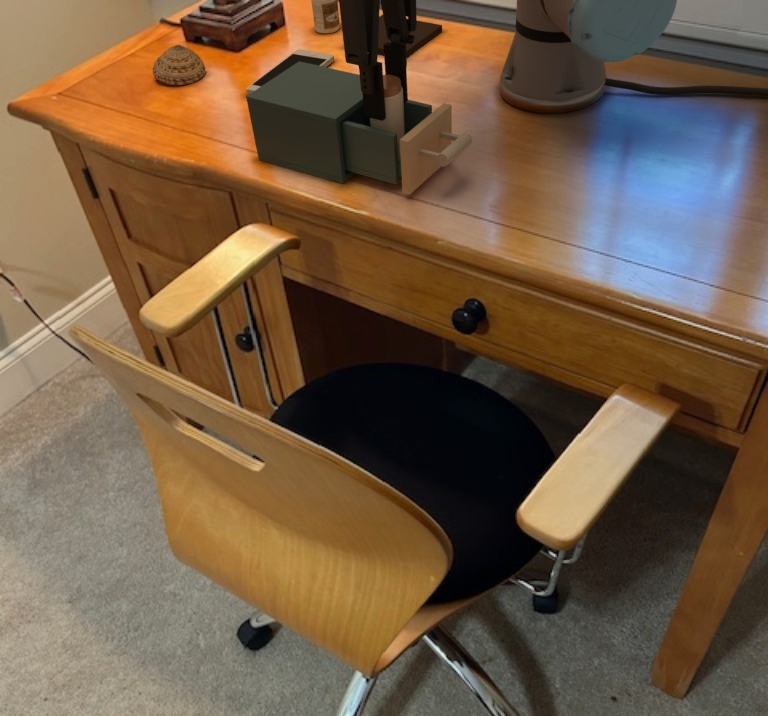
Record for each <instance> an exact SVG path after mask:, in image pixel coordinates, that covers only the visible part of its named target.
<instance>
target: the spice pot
mask: <svg viewBox="0 0 768 716" xmlns="http://www.w3.org/2000/svg"><path fill="white" fill-rule="evenodd" d="M383 83H384V98H385V113H386V119H384V120H383V121H381V120H377V119H373V118H370V127H373V128H377V129H381V130H385V131H389V132H393V133H397V142H398V159H399V162H400V161H401V155H400V139H401V138H402V137H403V136H405V122H404V102H403V88H402V86H401V80H400V78H399V77H397V76H394V75H385V74H383Z"/></svg>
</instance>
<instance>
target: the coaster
mask: <svg viewBox="0 0 768 716" xmlns="http://www.w3.org/2000/svg"><path fill="white" fill-rule="evenodd" d="M441 33H443V24H439V23H433V22H428V21H422V20H417V27H416V30H415V31H414V32H410V33H409V35H413V36H414V42H413V44H406V56H407V58H409V56H411V55H412V54H414V53H415V52H416V51H418V50H419V49H420V48H422V47H423V46H424V45H426V44H427V43H429V42H430V41H431V40H433V39H434V38H435V37H437V36H438V35H439V34H441ZM386 42H389V43H391V40H388V38H387V33H386V28H385V23H384V17H383V14H381V15H379V33H378V55H380V56H384V46H383V44H385V43H386Z"/></svg>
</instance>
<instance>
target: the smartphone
mask: <svg viewBox="0 0 768 716" xmlns="http://www.w3.org/2000/svg"><path fill="white" fill-rule="evenodd" d="M299 61H300V62H304V63H309V64H313V65H318V66H322V67H327V68H328V66H330V65H331V64H332V63H334V62H335V55H334V54H333V53H327V52H319V51H314V50H307V49H302V48H298V49H296V50H294V51H293V52H292V53H290V54H289V55H288V56H286V58H284V59H283V60H281V61H280V62H279V63H278V64H276V65H274V67H272V68H270V69H269V70H268V71H267V72H265V73H264V74H263V75H261V76H260V77H258V78H257V79H256V80H255V81H253V82H252V83H251V84H249V85H248V86H247V87H246V88H245V90H246V94H247V95H249V94H250V93H252V92H254V91H255V90H257V89H258V88H260V87H261V86H263V85H264V84H266V83H267V82H269V81H270V80H272V79H273V78H275V77H276V76H278V75H279V74H281V73H282V72H284V71H285V70H287V69H288V68H290V67H291V66H293V65H294V64H296V63H297V62H299Z"/></svg>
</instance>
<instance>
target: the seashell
mask: <svg viewBox="0 0 768 716" xmlns="http://www.w3.org/2000/svg"><path fill="white" fill-rule="evenodd" d="M205 74H206V66H205V62H204V61H203V59H202V58H201V56H199V54H197V53H196V52H195V51H193V50H192V49H191V48H188V47H186V46H184V45H181V44H176V45H172V46H171V47H168V48H167V49H166V50H165V51H164V52H163V53H162V54H161V55H159V56H158V57H157V58H156V60H155V61H154V63H153V66H152V75H153V76H154V77H155V79H156V80H158V81H159V82H162V83H163V84H167V85H171V86H186V85H190V84H193V83H196V82H198V81H199V80H201V79H202V78H203V77H204V76H205Z"/></svg>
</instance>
